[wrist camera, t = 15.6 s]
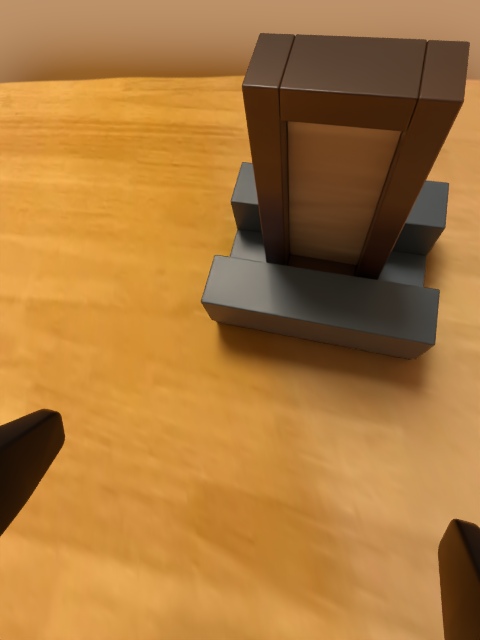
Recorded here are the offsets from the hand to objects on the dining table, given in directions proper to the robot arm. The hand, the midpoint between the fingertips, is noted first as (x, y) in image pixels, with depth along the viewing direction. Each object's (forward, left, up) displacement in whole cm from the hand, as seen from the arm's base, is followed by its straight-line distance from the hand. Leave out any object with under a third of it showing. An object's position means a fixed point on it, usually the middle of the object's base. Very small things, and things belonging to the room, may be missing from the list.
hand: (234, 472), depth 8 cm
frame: (+5, -11, -12) cm, 17 cm away
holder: (+5, -11, -14) cm, 18 cm away
